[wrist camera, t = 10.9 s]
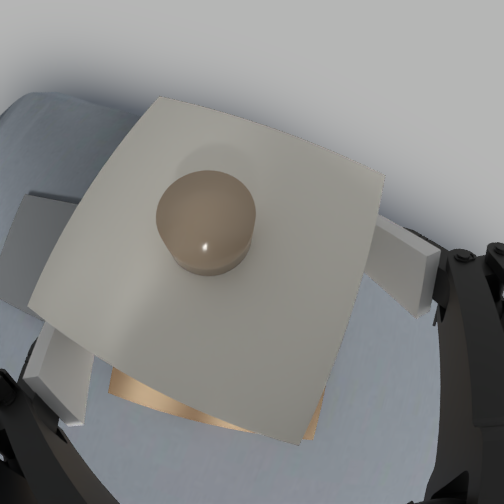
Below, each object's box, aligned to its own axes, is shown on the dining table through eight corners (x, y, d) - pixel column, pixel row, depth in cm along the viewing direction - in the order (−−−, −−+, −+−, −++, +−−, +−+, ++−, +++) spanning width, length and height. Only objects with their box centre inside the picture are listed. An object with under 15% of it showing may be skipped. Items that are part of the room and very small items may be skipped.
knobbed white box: (126, 331, 17) (0, 297, 6) (188, 208, 19) (153, 69, 9) (262, 393, 16) (312, 463, 5) (314, 260, 19) (402, 152, 8)
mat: (-7, 294, 19) (-11, 292, 18) (27, 197, 22) (24, 194, 21) (87, 339, 19) (84, 339, 18) (125, 216, 22) (122, 213, 21)
